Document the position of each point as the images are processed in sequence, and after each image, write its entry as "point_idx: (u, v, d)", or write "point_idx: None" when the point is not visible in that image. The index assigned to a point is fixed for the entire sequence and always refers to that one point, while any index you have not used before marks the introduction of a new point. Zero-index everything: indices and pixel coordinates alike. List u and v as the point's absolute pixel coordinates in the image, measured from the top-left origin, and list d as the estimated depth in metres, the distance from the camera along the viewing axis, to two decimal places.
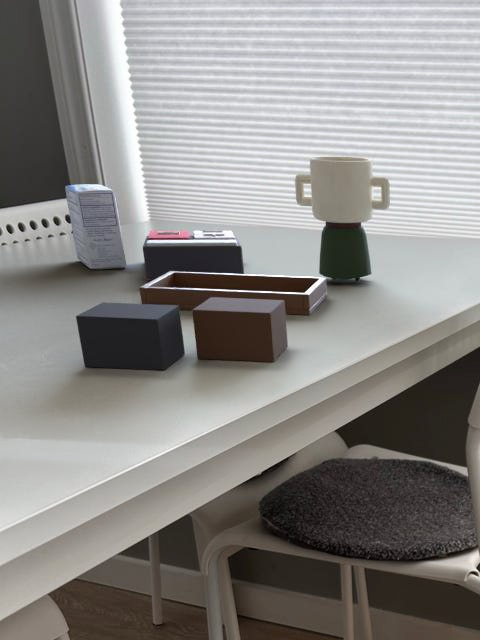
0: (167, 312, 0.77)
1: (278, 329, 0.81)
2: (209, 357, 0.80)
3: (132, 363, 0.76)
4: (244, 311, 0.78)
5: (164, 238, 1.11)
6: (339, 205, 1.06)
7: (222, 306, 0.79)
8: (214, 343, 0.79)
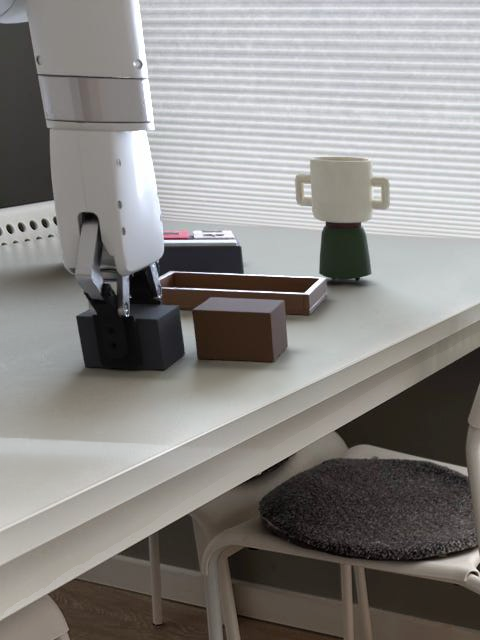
0: (167, 312, 0.77)
1: (278, 329, 0.81)
2: (209, 357, 0.80)
3: None
4: (244, 311, 0.78)
5: (164, 238, 1.11)
6: (339, 205, 1.06)
7: (222, 306, 0.79)
8: (214, 343, 0.79)
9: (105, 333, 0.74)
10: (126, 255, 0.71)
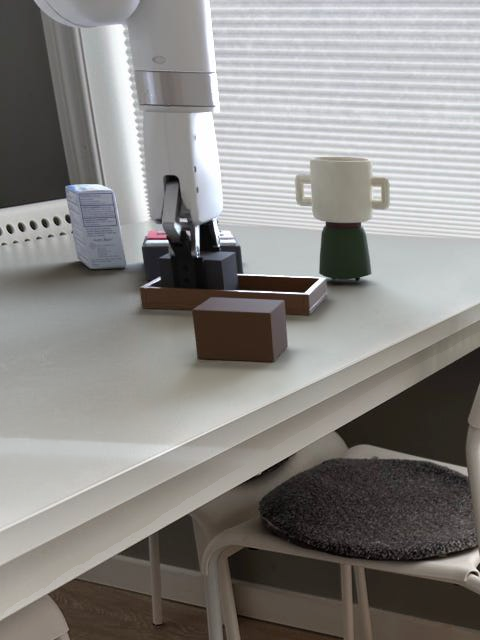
0: (227, 256, 0.98)
1: (278, 329, 0.81)
2: (209, 357, 0.80)
3: None
4: (244, 311, 0.78)
5: (163, 238, 1.11)
6: (339, 205, 1.06)
7: (222, 306, 0.79)
8: (214, 343, 0.79)
9: (180, 271, 0.95)
10: (198, 208, 0.92)
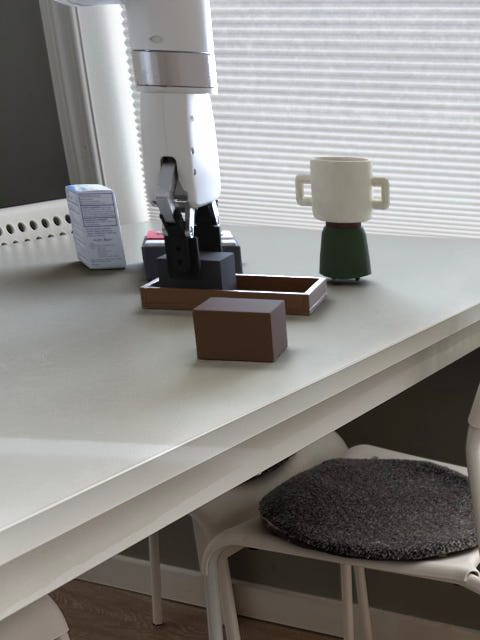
0: (226, 256, 0.98)
1: (278, 329, 0.81)
2: (209, 357, 0.80)
3: None
4: (244, 311, 0.78)
5: (162, 238, 1.11)
6: (339, 205, 1.06)
7: (222, 306, 0.79)
8: (214, 343, 0.79)
9: (174, 251, 0.93)
10: (196, 191, 0.91)
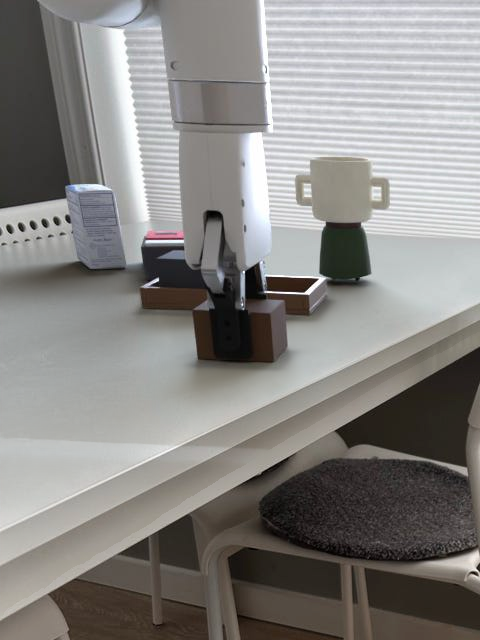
0: None
1: (278, 329, 0.81)
2: (209, 357, 0.80)
3: None
4: None
5: (162, 238, 1.11)
6: (339, 205, 1.06)
7: None
8: None
9: (221, 326, 0.77)
10: (246, 251, 0.74)
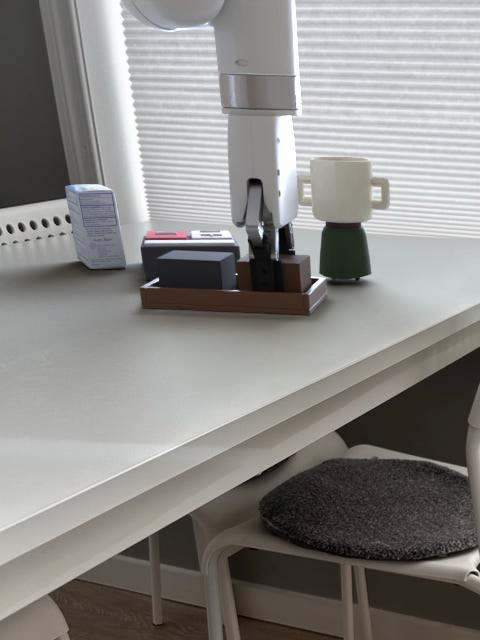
0: (226, 256, 0.98)
1: (305, 278, 0.99)
2: None
3: None
4: None
5: (162, 238, 1.11)
6: (339, 205, 1.06)
7: None
8: None
9: (259, 274, 0.95)
10: (280, 212, 0.92)
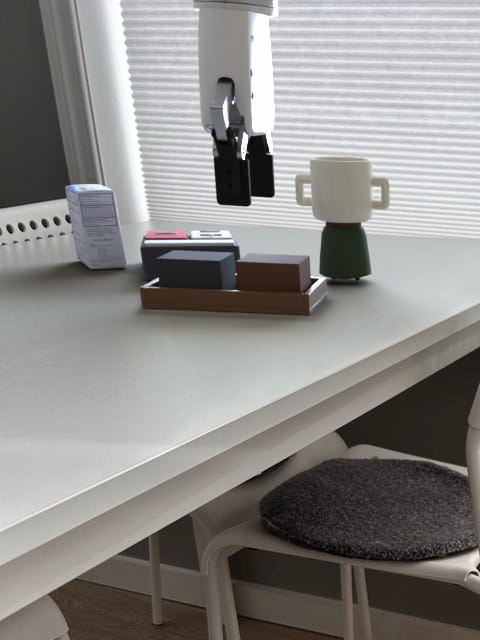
0: (226, 256, 0.98)
1: (305, 279, 0.99)
2: None
3: None
4: (277, 262, 0.96)
5: (161, 238, 1.11)
6: (339, 205, 1.06)
7: (259, 259, 0.97)
8: (252, 289, 0.97)
9: (224, 174, 0.88)
10: (253, 116, 0.87)
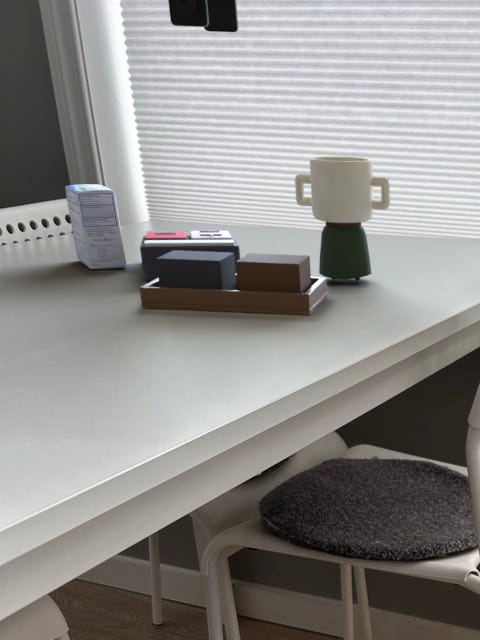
0: (226, 256, 0.98)
1: (305, 279, 0.99)
2: None
3: None
4: (277, 262, 0.96)
5: (161, 238, 1.11)
6: (339, 205, 1.06)
7: (259, 259, 0.97)
8: (252, 289, 0.97)
9: None
10: None
